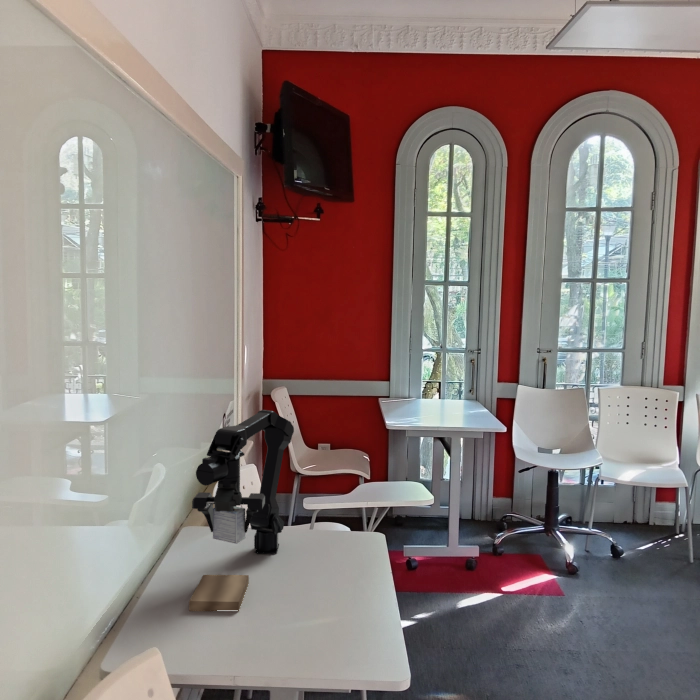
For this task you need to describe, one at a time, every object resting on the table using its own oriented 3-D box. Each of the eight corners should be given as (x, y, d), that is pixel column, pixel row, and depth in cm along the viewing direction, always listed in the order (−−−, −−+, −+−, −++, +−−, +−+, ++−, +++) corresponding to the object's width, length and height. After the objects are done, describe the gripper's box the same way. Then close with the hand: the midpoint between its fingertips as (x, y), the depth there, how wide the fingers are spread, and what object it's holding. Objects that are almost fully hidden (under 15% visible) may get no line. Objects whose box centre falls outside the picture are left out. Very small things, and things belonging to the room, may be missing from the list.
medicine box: (246, 539, 164) (246, 507, 163) (236, 544, 160) (236, 513, 159) (222, 533, 167) (222, 503, 166) (212, 539, 163) (212, 508, 162)
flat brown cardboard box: (248, 586, 159) (248, 575, 159) (238, 613, 145) (238, 601, 145) (203, 585, 159) (203, 574, 159) (189, 613, 145) (189, 601, 145)
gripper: (186, 483, 154) (186, 543, 155) (259, 485, 154) (258, 544, 155) (197, 471, 165) (197, 527, 166) (265, 472, 165) (265, 528, 166)
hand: (229, 531), depth 163 cm, fingers closed on medicine box, 9 cm apart
